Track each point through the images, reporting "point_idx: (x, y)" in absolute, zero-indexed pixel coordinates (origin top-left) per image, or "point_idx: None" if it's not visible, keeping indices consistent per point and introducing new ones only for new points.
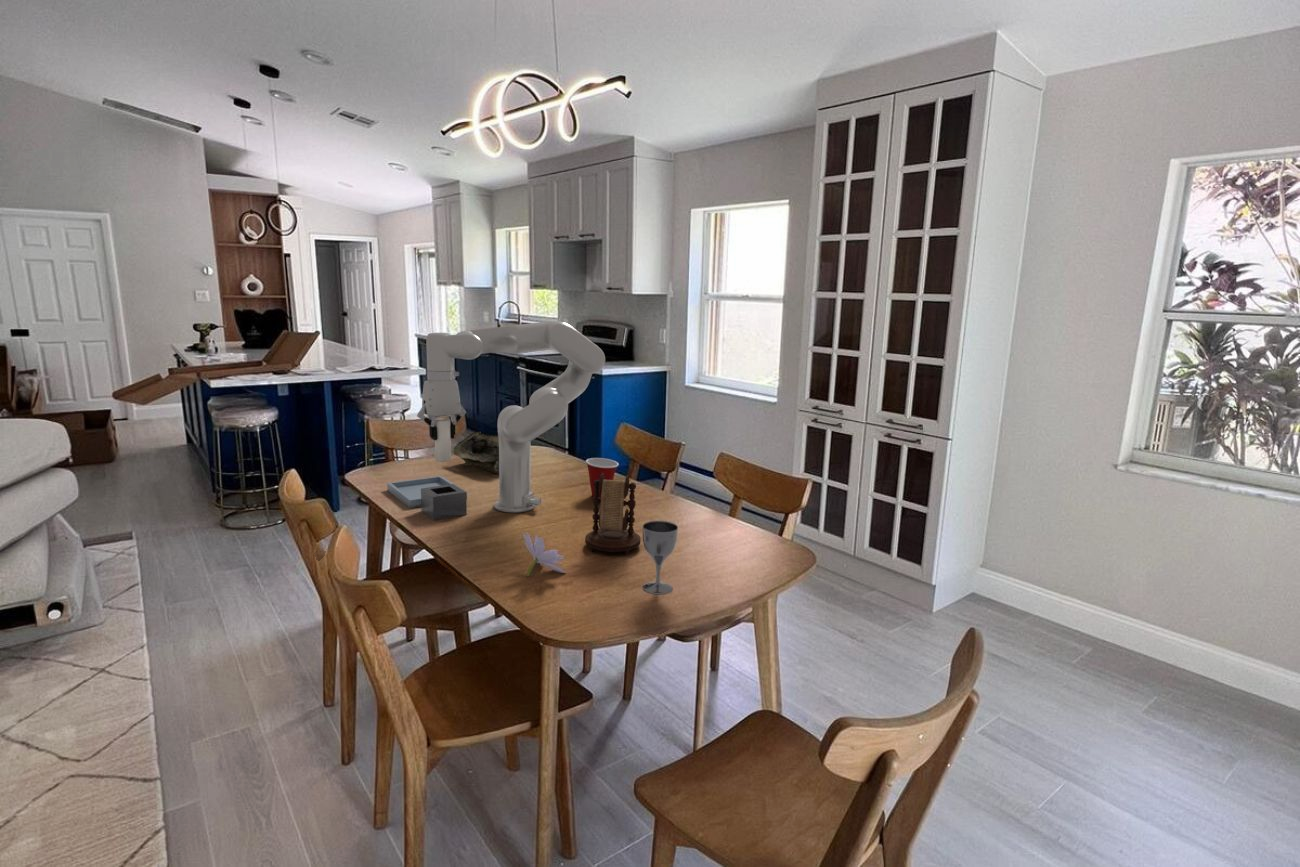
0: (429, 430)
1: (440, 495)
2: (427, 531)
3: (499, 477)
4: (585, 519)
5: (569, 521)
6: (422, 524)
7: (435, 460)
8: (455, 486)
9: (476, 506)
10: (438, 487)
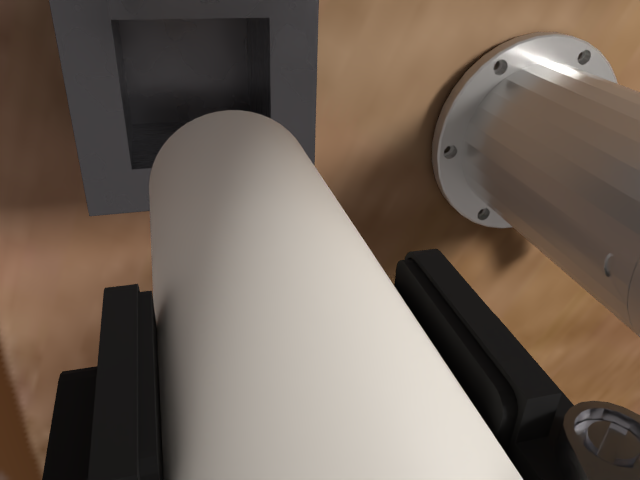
0: (48, 450)
1: (144, 203)
2: (34, 290)
3: (553, 184)
4: (597, 358)
5: (549, 359)
6: (26, 191)
7: (149, 188)
8: (305, 43)
9: (383, 34)
10: (186, 6)
